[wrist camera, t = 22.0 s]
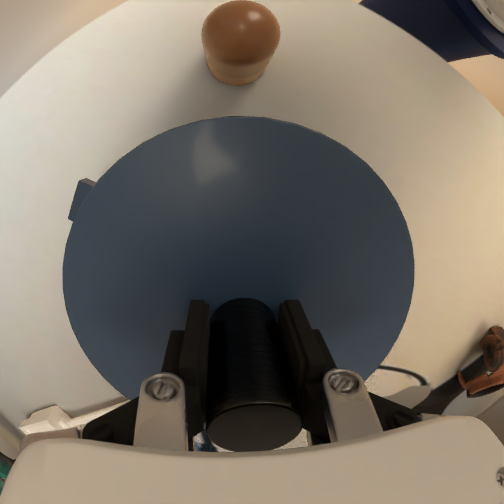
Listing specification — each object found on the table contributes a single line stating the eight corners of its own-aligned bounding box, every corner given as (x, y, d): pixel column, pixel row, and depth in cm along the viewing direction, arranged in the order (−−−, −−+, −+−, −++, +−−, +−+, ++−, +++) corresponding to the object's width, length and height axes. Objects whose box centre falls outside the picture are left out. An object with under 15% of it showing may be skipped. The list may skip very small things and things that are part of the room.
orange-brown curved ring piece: (503, 339, 31) (511, 386, 25) (453, 356, 36) (458, 404, 30) (514, 305, 24) (529, 365, 19) (453, 328, 29) (461, 389, 24)
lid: (151, 56, 9) (79, -19, 3) (450, 234, 13) (540, 289, 7) (57, 356, 14) (12, 439, 7) (294, 435, 18) (312, 513, 11)
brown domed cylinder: (225, 26, 15) (225, -23, 9) (277, 49, 16) (301, 9, 10) (196, 71, 16) (181, 36, 10) (250, 95, 17) (261, 70, 11)
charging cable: (211, 382, 27) (211, 407, 24) (45, 435, 29) (39, 450, 26) (181, 350, 25) (178, 375, 22) (22, 415, 27) (14, 430, 24)
